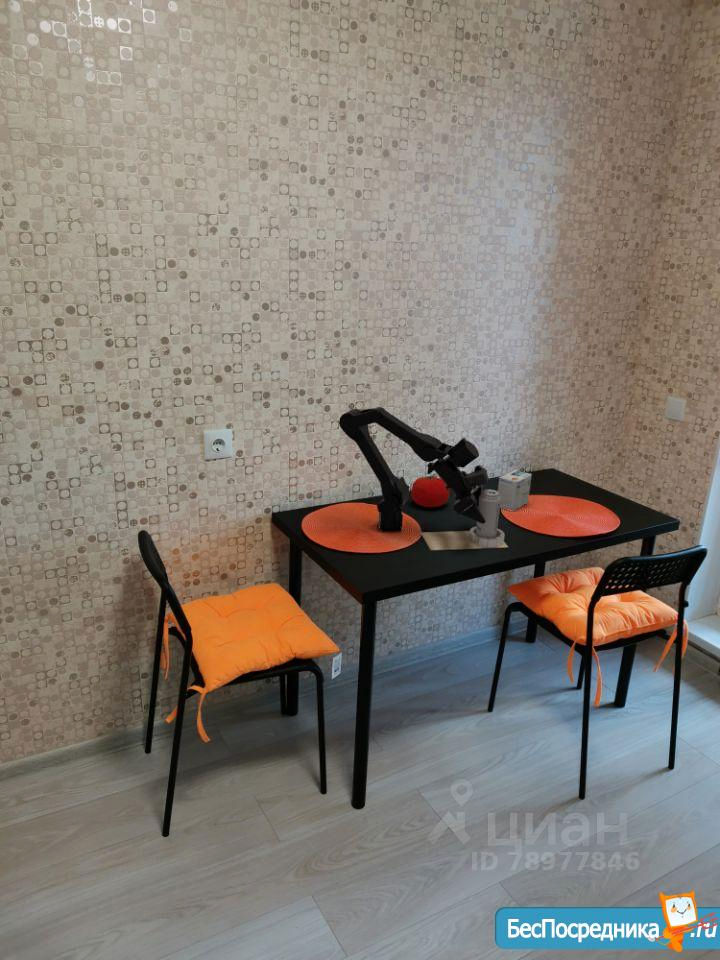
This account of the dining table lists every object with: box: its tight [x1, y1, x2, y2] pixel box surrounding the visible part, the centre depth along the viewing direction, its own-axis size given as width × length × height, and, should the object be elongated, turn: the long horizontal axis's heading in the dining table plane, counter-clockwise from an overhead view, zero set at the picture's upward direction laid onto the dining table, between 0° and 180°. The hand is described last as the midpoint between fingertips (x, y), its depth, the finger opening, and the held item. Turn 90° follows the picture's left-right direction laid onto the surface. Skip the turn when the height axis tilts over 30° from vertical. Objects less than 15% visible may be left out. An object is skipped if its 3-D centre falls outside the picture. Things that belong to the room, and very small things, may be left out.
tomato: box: [410, 474, 451, 508], centre depth 241 cm, size 11×13×10 cm
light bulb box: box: [497, 469, 533, 512], centre depth 243 cm, size 11×7×11 cm, turn 141°
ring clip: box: [469, 526, 505, 549], centre depth 214 cm, size 10×10×2 cm
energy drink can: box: [475, 488, 501, 538], centre depth 212 cm, size 6×6×15 cm
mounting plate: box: [420, 530, 509, 551], centre depth 215 cm, size 23×12×1 cm, turn 100°
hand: (486, 516), depth 212 cm, fingers open, 9 cm apart
